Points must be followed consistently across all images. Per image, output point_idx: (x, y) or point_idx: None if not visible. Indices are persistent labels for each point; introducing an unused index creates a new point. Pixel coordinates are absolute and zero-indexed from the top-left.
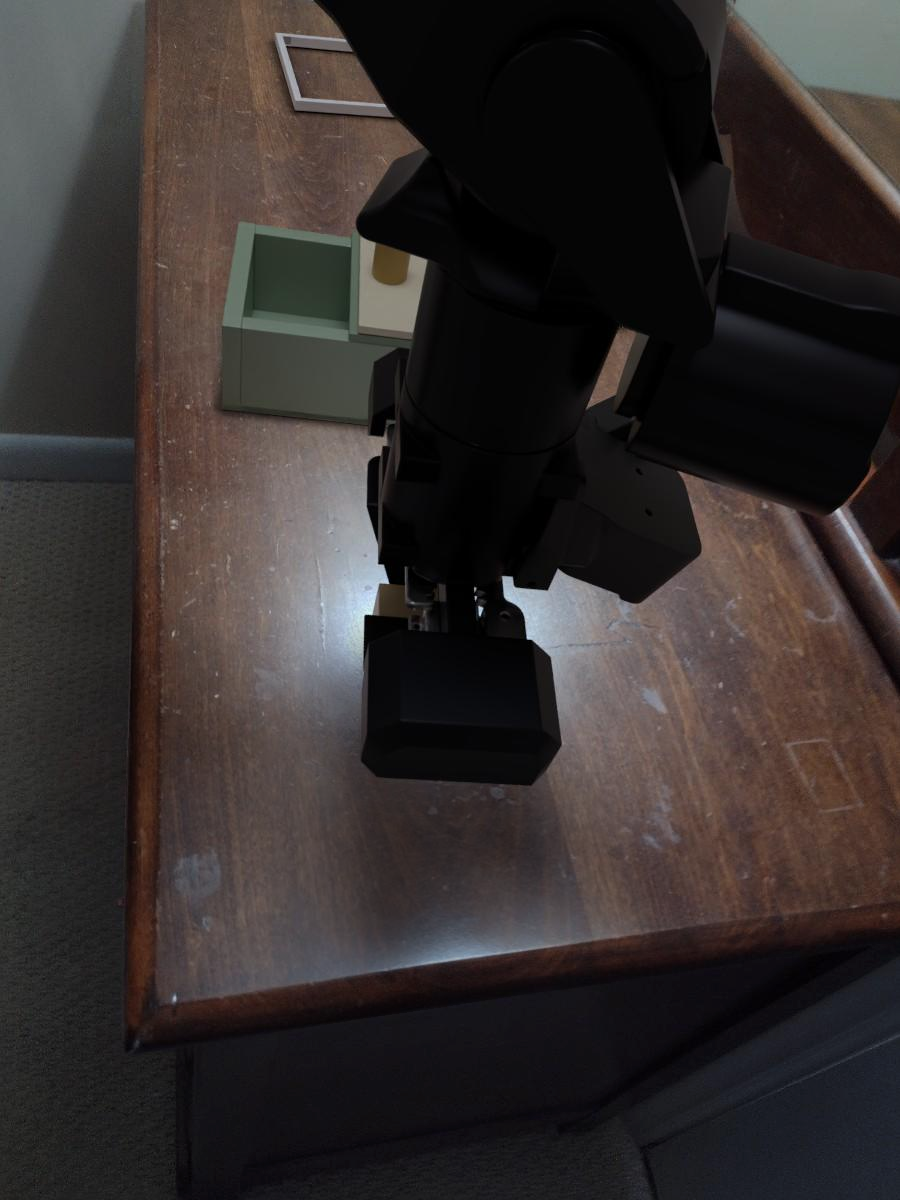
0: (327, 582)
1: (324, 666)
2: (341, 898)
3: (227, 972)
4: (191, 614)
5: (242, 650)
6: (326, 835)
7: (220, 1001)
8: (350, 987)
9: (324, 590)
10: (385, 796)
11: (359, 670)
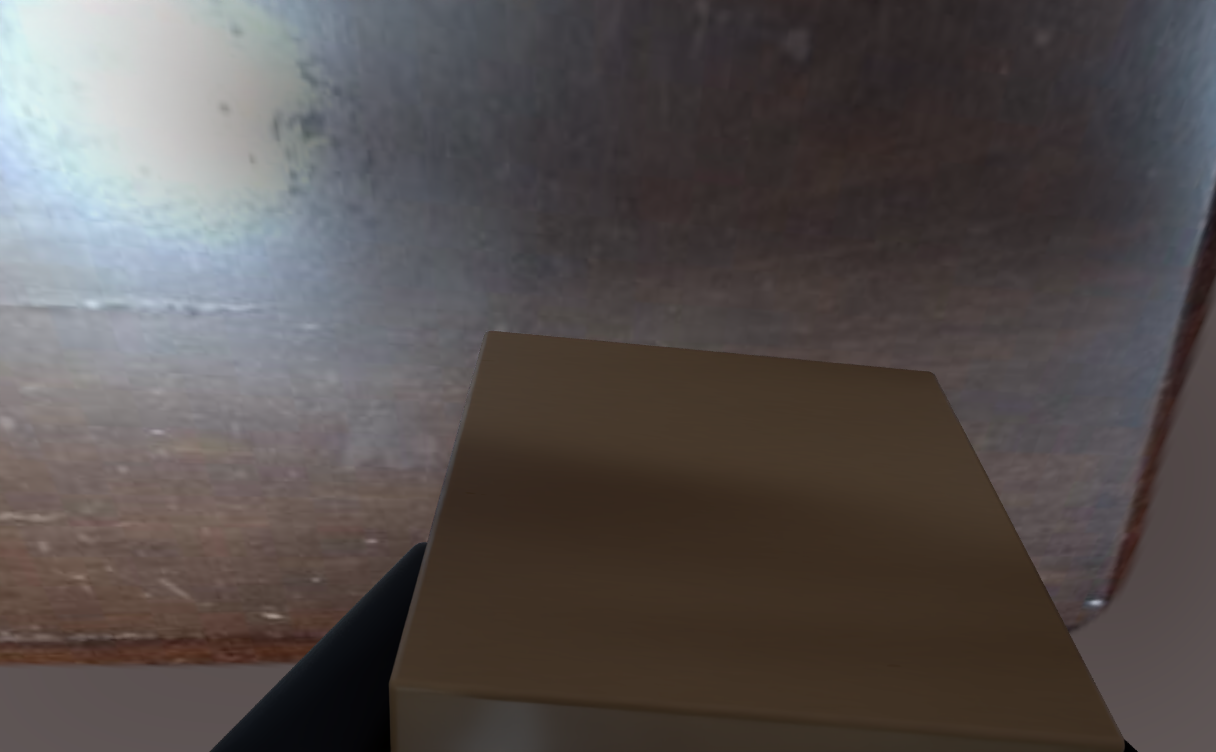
0: (3, 285)
1: (313, 310)
2: (992, 312)
3: (1080, 527)
4: (209, 586)
5: (294, 492)
6: (822, 335)
7: (1131, 538)
8: (1209, 307)
9: (37, 295)
10: (733, 180)
11: (312, 217)
